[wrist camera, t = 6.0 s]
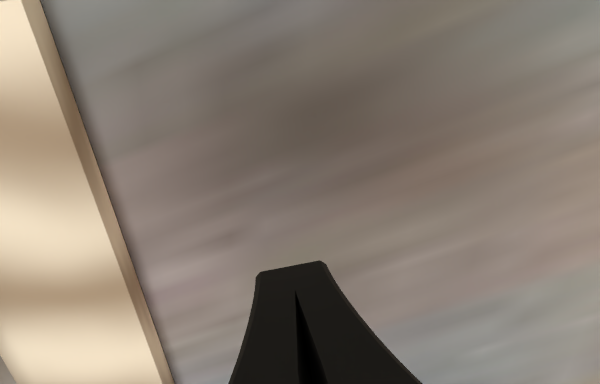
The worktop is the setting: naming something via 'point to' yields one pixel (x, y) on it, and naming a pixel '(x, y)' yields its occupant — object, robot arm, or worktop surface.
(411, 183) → the worktop surface
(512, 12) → the worktop surface
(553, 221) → the worktop surface
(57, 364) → the switch panel
